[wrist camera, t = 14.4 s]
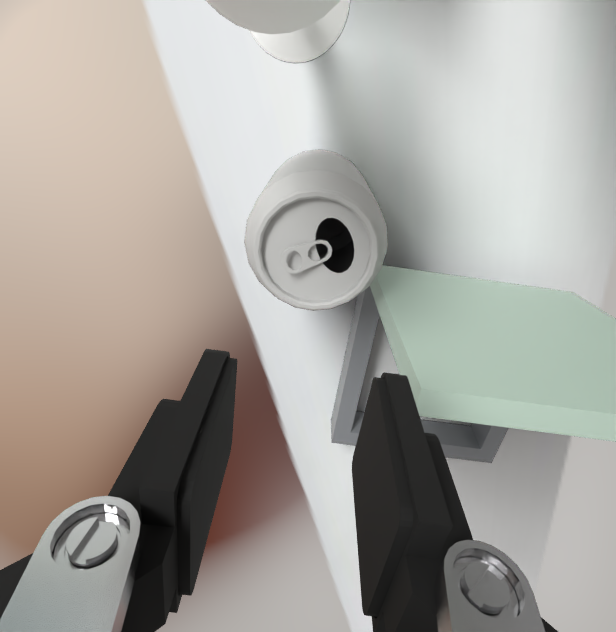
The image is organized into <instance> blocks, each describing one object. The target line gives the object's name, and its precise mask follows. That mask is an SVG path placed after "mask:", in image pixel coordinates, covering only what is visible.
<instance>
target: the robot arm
mask: <svg viewBox="0 0 616 632" xmlns="http://www.w3.org/2000/svg"><path fill="white" fill-rule="evenodd" d="M236 370H237V359H234V358H230V354H229V352H226V351H218V350H211V349H206V350H205V351H204V353H203V355H202V357H201V359H200V362H199V364H198V366H197V368H196V370H195V372H194V374H193V376H192V378H191V380H190V382H189V385H188V386H187V389H186V391H185V393H184V395H183V397H182V399H181V401H175V400H168V399H163V400H161V401H160V403H159V404H158V405H157V407H156V409H155V411H154V412H153V415H152V416H151V418H150V420H149V422H148V423H147V425H146V427H145V429H144V431H143V433H142V434H141V436H140V438H139V440H138V442H137V443H136V445H135V447H134V449H133V451H132V453H131V455H130V456H129V458H128V460H127V462H126V464H125V465H124V467H123V469H122V471H121V473H120V475H119V476H118V478H117V480H116V482H115V484H114V485H113V488H112V489H111V491H110V493H109V495H108V496H101V497H92V498H90V499H87V500H84V501H81V502H78V503H76V504H74V505H73V506H71V507H70V508H68V509H66V510H65V511H63V512H62V513H61V514H60V515H59V516H58V517H56V518H55V519H54V520H53V521H52V522H51V524H50V525H49V527H48V528H47V529H46V531H45V532H44V534H43V535H42V537H41V540H40V541H39V543H38V545H37V548H36V549H35V551H34V553H33V554H31V555H28V556H27V557H25V558H23V559H21V560H19V561H17V562H15V563H13V564H11V565H9V566H7V567H6V568H4V569H2V570H0V632H155V631H156V630H157V629H159V628H160V627H161V626H163V625H164V624H165V623H166V619H167V616H168V613H169V612H175V613H177V611H178V607H179V604H180V600H181V597H182V595H192V592H193V589H194V586H195V582H196V579H197V575H198V571H199V567H200V563H201V560H202V556H203V552H204V549H205V545H206V541H207V537H208V533H209V530H210V526H211V522H212V518H213V515H214V511H215V508H216V504H217V500H218V496H219V492H220V489H221V485H222V481H223V477H224V474H225V470H226V466H227V463H228V459H229V455H230V450H231V444H232V432H233V418H234V402H235V388H236V372H237V371H236ZM352 477H353V490H354V503H355V517H356V530H357V543H358V556H359V570H360V583H361V596H362V608H363V613H364V615H367V616H372V624H373V632H558V631H557V630H555V629H554V628H553V627H552V626H551V625H550V624H548V623H547V622H546V621H545V620H544V619H542V618H541V617H540V613H539V610H538V607H537V603H536V600H535V597H534V594H533V591H532V589H531V587H530V585H529V582H528V580H527V578H526V577H525V575H524V574H523V572H522V571H521V570H520V568H519V567H518V566H517V564H515V563H514V562H513V561H512V560H511V559H510V558H509V557H508V556H507V555H506V554H505V553H503V552H501V551H500V550H498V549H497V548H495V547H493V546H492V545H489V544H486V543H484V542H481V541H476V540H473V538H472V535H471V532H470V529H469V526H468V523H467V520H466V517H465V514H464V511H463V508H462V506H461V503H460V500H459V497H458V494H457V491H456V488H455V485H454V482H453V479H452V476H451V473H450V470H449V467H448V464H447V461H446V458H445V455H444V452H443V450H442V447H441V444H440V441H439V439H438V437H437V436H436V435H435V434H432V433H424V429H423V426H422V423H421V419H420V416H419V413H418V409H417V406H416V403H415V400H414V396H413V393H412V390H411V386H410V383H409V380H408V377H407V376H406V375H399V374H391V373H383V374H382V376H381V378H377V377H375V378H374V379H373V382H372V385H371V389H370V393H369V397H368V401H367V405H366V409H365V412H364V416H363V420H362V424H361V428H360V432H359V436H358V439H357V443H356V447H355V451H354V455H353V461H352Z"/></svg>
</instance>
